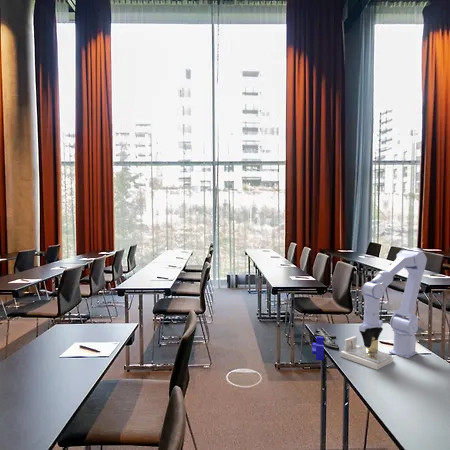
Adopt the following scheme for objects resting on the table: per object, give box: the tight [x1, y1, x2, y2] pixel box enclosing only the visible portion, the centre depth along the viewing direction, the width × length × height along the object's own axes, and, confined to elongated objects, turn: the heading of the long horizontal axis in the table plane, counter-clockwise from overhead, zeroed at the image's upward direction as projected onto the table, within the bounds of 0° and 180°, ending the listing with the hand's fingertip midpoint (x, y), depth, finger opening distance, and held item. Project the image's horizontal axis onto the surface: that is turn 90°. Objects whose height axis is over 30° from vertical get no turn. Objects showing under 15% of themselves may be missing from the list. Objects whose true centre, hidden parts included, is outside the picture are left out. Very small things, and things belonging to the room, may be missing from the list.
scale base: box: [339, 335, 394, 370], centre depth 153 cm, size 13×16×6 cm
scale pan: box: [349, 345, 392, 363], centre depth 152 cm, size 10×13×1 cm
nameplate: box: [313, 327, 340, 351], centre depth 176 cm, size 27×2×10 cm
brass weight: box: [366, 336, 379, 354], centre depth 151 cm, size 4×4×6 cm
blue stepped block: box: [311, 336, 325, 361], centre depth 157 cm, size 12×4×6 cm, turn 166°
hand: (370, 345), depth 152 cm, fingers closed on brass weight, 4 cm apart
